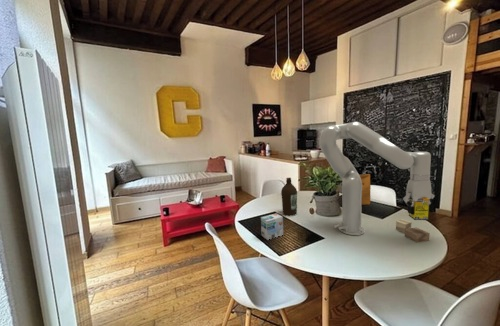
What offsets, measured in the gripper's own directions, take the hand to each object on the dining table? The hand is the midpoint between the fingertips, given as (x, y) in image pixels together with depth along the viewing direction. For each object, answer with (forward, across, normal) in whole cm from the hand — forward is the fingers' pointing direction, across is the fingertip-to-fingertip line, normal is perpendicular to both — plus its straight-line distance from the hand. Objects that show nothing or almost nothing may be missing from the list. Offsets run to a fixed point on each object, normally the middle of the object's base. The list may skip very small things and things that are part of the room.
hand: (418, 212), depth 110 cm
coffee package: (+14, -8, -55) cm, 57 cm away
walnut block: (+14, 0, 0) cm, 14 cm away
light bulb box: (+13, +69, -22) cm, 74 cm away
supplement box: (+3, 0, 0) cm, 3 cm away
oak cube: (+14, -1, -9) cm, 16 cm away
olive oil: (+13, +49, -50) cm, 72 cm away
